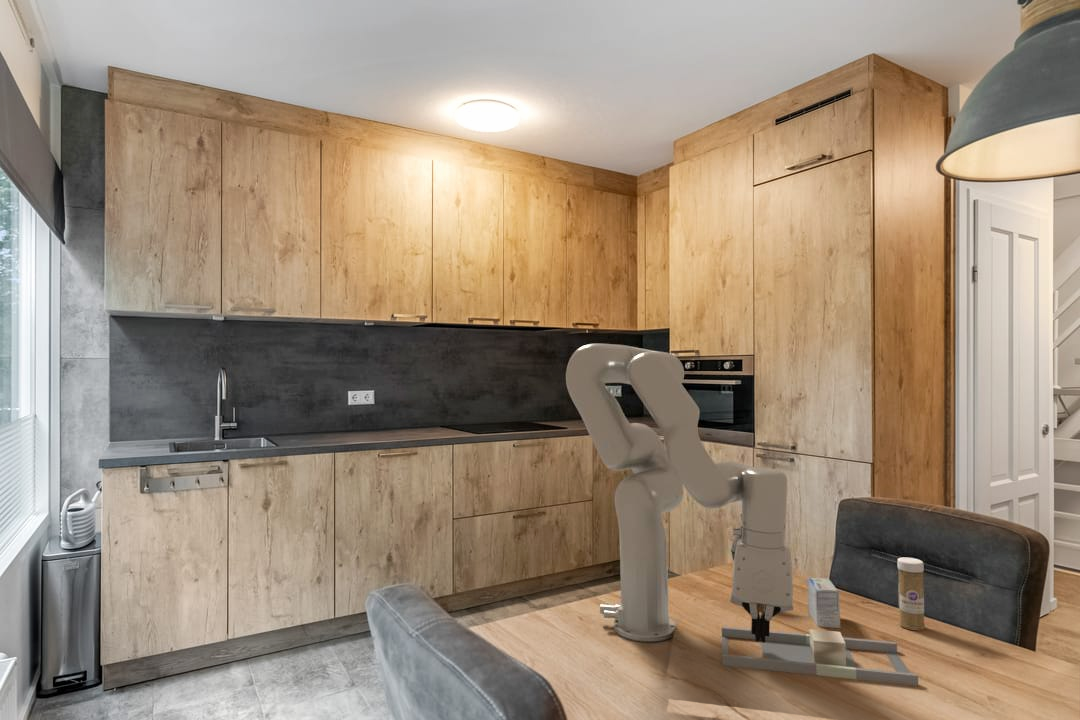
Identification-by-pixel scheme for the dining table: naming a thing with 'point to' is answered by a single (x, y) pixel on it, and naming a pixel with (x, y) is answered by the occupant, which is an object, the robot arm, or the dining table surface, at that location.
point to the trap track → (796, 657)
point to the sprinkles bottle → (911, 593)
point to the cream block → (827, 647)
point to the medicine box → (823, 602)
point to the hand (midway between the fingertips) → (759, 638)
